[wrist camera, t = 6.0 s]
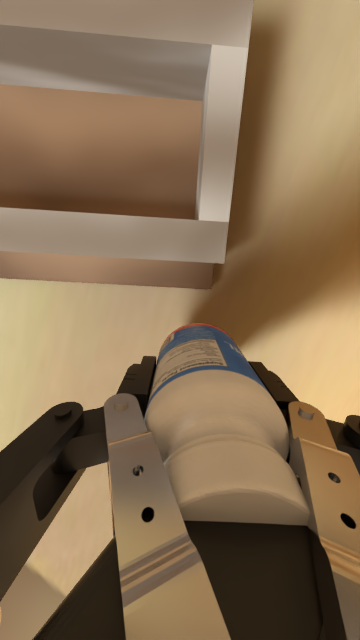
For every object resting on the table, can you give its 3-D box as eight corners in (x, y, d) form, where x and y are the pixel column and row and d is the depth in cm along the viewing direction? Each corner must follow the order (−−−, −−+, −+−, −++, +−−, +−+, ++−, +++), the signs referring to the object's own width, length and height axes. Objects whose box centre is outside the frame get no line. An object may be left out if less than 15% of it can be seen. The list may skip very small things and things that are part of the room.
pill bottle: (244, 378, 14) (364, 597, 5) (173, 399, 15) (165, 632, 6) (225, 308, 13) (345, 438, 4) (147, 333, 13) (74, 505, 4)
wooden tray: (-234, -15, 10) (-482, -181, 6) (233, 31, 11) (264, -93, 7) (-131, 269, 14) (-246, 272, 10) (209, 287, 15) (220, 296, 11)
